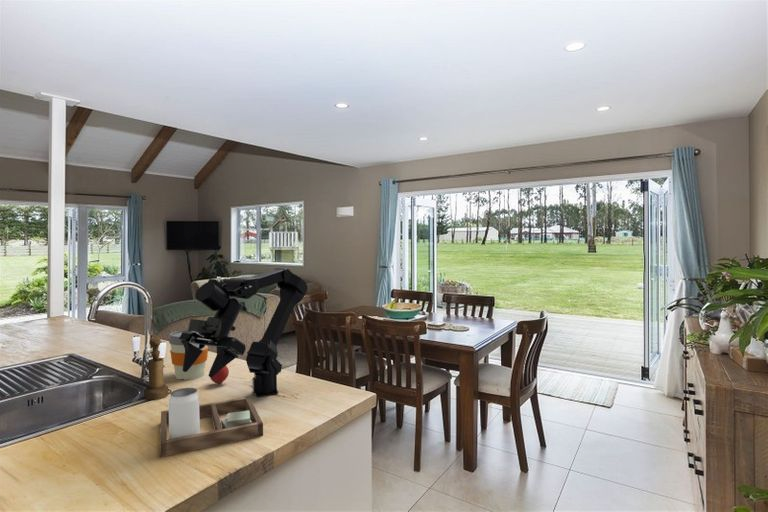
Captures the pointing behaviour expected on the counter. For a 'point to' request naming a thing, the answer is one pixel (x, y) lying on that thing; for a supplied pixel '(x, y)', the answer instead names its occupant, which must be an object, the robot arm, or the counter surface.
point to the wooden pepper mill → (155, 374)
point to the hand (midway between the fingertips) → (196, 374)
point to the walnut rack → (219, 434)
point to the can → (184, 413)
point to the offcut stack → (236, 419)
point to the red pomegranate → (220, 375)
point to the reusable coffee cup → (179, 354)
